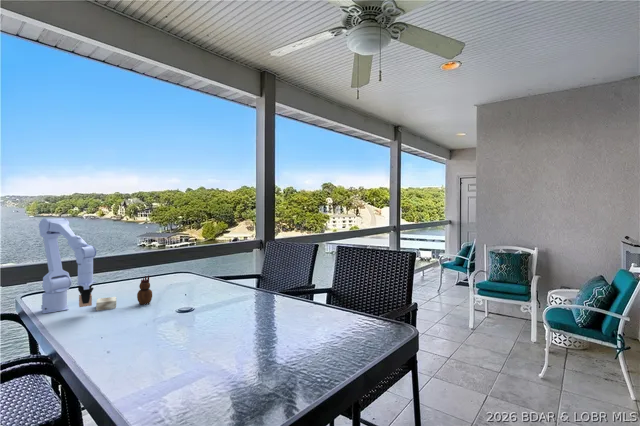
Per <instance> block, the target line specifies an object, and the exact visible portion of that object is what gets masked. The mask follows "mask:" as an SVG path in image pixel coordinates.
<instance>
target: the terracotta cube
mask: <svg viewBox="0 0 640 426" xmlns="http://www.w3.org/2000/svg"><path fill="white" fill-rule="evenodd" d="M92 298H93V295H92V294H91V295H90V300H89V303H86V304H83V303H82V298H81V294H78V307H79V308H85V307H90V306H91V307H92V305H93V304H92V303H93V302H92V301H93V299H92Z"/></svg>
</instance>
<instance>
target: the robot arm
mask: <svg viewBox="0 0 640 426" xmlns="http://www.w3.org/2000/svg"><path fill="white" fill-rule="evenodd" d="M38 230H39V235H40V237H41V238H42V239H43V244H44V251H45V257H46V263H47V269H48V273H46V274H45V275H44V276H43V277H42V290H43V291H44V292H43V293H42V294H41V295H42V297H41V301H42V302H41V303H42V304H41V308H40V309H41V310H42V312H41V313H42V314H47V313H48V314H50V313H55V312H56V313H57V312H62V311H63V312H64V311H68V310H69V305H68V291H69V289H70V288H71V286H72V284H73V280H72V278H71V276H70V273H69V272H68V271H66V270H64V269H63V264H62V259H61V253H60V246H59V241H58V238H60V236H63V237H64V238H65V239H66V241H67V245H68V246H69V247H70V248H71V249H72V250H73V252H74V257H75V262H76V264H77V282H76V285H77V290H78V292H79V295H81V298H82V303H83V304H86V303H89V300H90V295H92V292H93V290H94V287H93V284H96V283H97V280H94V258H95V257H96V256H97V249H96V248H95V246H94V245H91V244H88V243H87V242H86V241H85V240H84V239H83V238H82V237H81V235H76V234H75V232H74V231H73V230H72V229H71V227H70V221H69V220H68V219H67V217H59V218H58V217H57V218H56V217H54V218H46V217H43V218H41V220H40V221H39V224H38Z"/></svg>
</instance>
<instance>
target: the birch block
mask: <svg viewBox="0 0 640 426" xmlns="http://www.w3.org/2000/svg"><path fill="white" fill-rule="evenodd" d="M95 304H96V308H95V309H96V311H104V310H113V309H117V296H111V297H103V298H102V297H101V298H100V297H99V298H97V300H96V303H95Z"/></svg>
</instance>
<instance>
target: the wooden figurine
mask: <svg viewBox="0 0 640 426" xmlns="http://www.w3.org/2000/svg"><path fill="white" fill-rule="evenodd" d="M138 287H139V290H138V291H137V294H136V298H137V302H138V304H139V305H142V306H143V305H145V306H146V305H150V303H151V302H152V299H153V290H151V289H150V288H151V283H150V274H147V275H145V276H144V277H143V278H142V279H141V280H140V283H139V286H138Z"/></svg>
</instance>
